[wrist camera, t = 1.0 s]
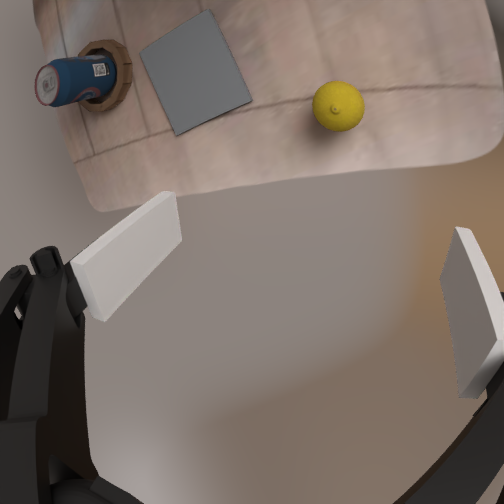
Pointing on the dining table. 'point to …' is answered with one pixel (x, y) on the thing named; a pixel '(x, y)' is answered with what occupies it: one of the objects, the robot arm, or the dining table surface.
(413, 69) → the dining table surface
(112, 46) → the holder ring
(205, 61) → the mat
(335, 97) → the lemon
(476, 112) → the dining table surface
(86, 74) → the soda can
